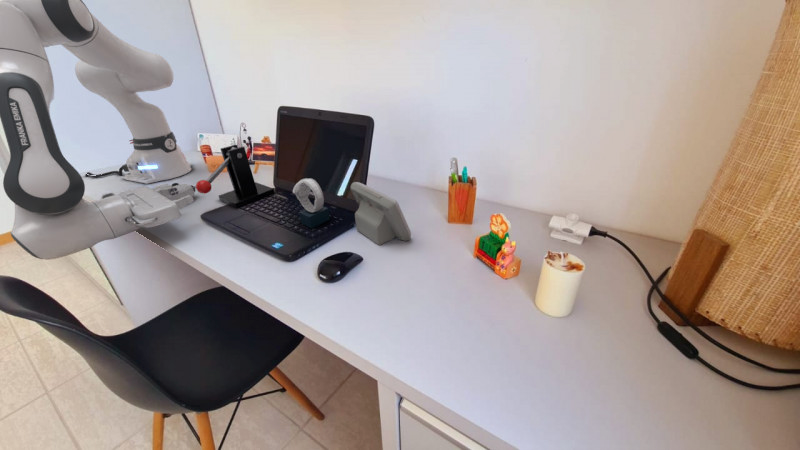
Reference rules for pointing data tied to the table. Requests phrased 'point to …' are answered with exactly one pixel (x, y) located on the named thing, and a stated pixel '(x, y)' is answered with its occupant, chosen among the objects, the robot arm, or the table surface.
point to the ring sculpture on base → (311, 213)
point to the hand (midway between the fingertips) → (184, 193)
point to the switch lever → (212, 177)
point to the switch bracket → (242, 179)
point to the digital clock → (378, 215)
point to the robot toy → (182, 189)
